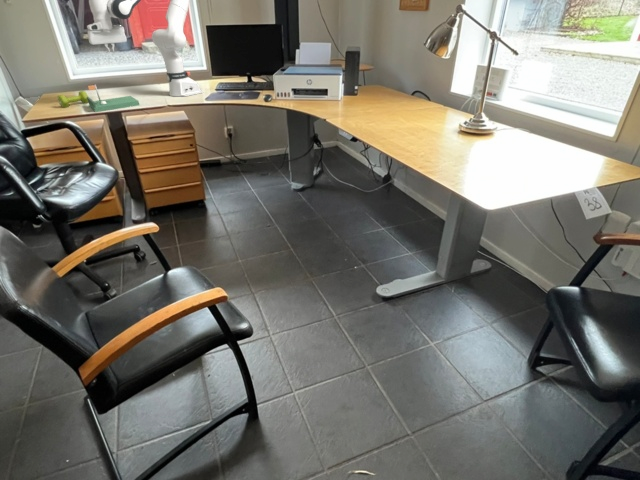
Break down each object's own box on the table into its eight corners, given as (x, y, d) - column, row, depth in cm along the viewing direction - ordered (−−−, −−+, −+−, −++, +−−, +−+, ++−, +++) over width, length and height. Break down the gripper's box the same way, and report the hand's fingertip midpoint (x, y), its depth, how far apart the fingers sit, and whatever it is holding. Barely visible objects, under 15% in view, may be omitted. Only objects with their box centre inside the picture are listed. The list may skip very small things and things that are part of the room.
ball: (107, 105, 237) (104, 99, 235) (109, 106, 234) (106, 100, 232) (101, 107, 235) (98, 101, 233) (103, 108, 233) (100, 102, 231)
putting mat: (131, 99, 250) (126, 80, 243) (139, 105, 238) (134, 84, 231) (89, 106, 237) (82, 85, 231) (95, 112, 225) (88, 90, 219)
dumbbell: (64, 108, 234) (60, 96, 230) (59, 107, 238) (54, 94, 234) (91, 103, 244) (87, 91, 240) (86, 101, 249) (82, 90, 245)
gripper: (121, 24, 229) (128, 49, 236) (83, 26, 219) (92, 53, 226) (124, 24, 224) (131, 50, 232) (85, 26, 214) (94, 54, 222)
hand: (111, 51), depth 229 cm, fingers closed
